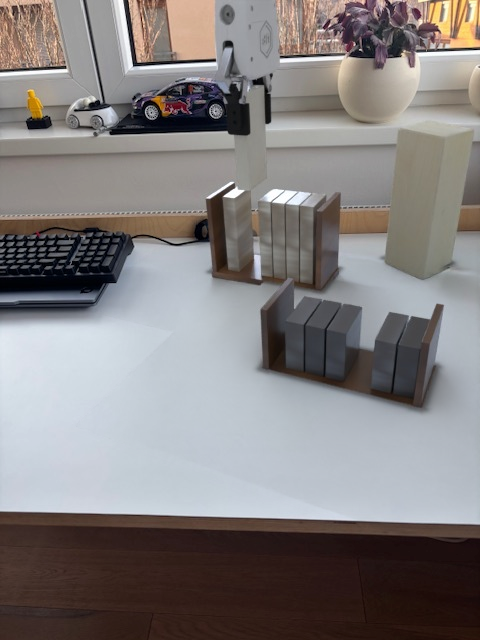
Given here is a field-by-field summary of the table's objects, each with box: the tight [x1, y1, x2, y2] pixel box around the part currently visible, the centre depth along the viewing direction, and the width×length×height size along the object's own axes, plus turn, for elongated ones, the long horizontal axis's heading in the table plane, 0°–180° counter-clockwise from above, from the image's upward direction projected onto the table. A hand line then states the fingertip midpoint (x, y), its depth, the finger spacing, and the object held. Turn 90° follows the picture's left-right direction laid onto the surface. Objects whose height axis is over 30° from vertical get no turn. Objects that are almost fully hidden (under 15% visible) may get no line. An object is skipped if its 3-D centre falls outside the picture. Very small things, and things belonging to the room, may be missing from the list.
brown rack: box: [205, 181, 342, 292], centre depth 82 cm, size 18×8×13 cm, turn 63°
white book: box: [233, 84, 268, 191], centre depth 76 cm, size 2×6×13 cm, turn 153°
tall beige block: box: [384, 120, 475, 280], centre depth 80 cm, size 8×7×21 cm
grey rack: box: [259, 278, 445, 409], centre depth 61 cm, size 18×8×9 cm, turn 63°
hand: (250, 127), depth 75 cm, fingers closed on white book, 6 cm apart
